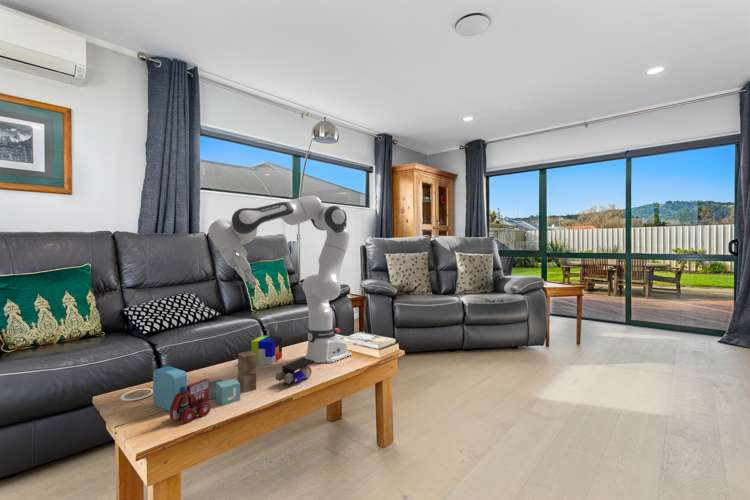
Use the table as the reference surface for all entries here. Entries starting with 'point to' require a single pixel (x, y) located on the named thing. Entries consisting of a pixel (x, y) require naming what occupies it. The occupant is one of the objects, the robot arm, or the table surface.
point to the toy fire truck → (191, 401)
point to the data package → (167, 385)
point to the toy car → (289, 371)
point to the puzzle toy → (267, 349)
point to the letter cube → (227, 391)
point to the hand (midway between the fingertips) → (254, 283)
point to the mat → (213, 389)
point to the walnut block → (247, 371)
